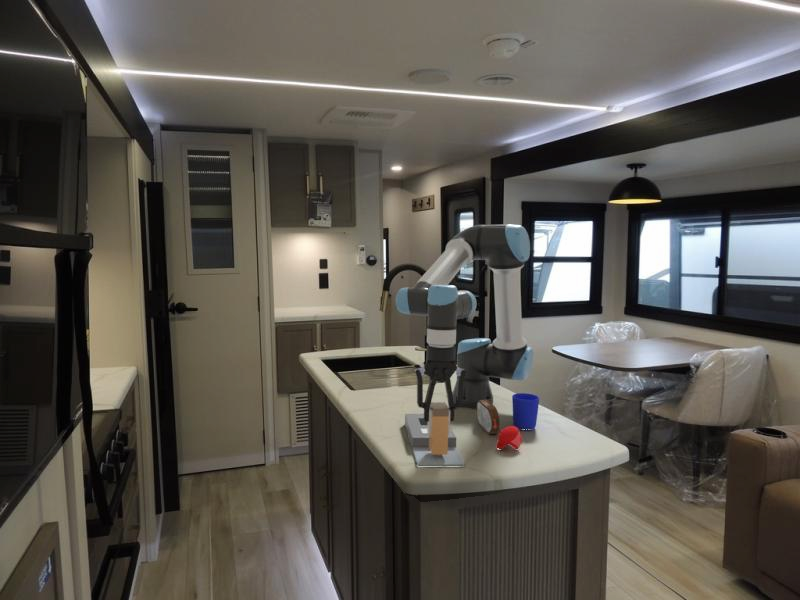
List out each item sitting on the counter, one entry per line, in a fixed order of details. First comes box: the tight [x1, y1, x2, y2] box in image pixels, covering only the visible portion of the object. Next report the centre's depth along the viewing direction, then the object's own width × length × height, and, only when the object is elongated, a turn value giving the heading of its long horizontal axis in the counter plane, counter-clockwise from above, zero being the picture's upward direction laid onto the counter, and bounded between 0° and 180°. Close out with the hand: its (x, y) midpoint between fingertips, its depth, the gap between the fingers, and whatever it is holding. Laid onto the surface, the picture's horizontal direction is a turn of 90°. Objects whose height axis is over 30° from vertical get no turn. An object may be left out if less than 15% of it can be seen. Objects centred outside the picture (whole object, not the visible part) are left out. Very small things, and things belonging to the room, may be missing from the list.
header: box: [404, 413, 457, 451], centre depth 159 cm, size 12×22×4 cm, turn 5°
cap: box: [496, 425, 523, 451], centre depth 151 cm, size 8×6×6 cm
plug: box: [429, 401, 449, 455], centre depth 141 cm, size 4×6×12 cm, turn 5°
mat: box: [412, 446, 466, 467], centre depth 142 cm, size 12×12×1 cm
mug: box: [511, 392, 540, 431], centre depth 170 cm, size 8×12×10 cm
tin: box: [476, 399, 501, 435], centre depth 166 cm, size 15×3×8 cm, turn 9°
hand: (438, 433), depth 142 cm, fingers closed on plug, 4 cm apart
